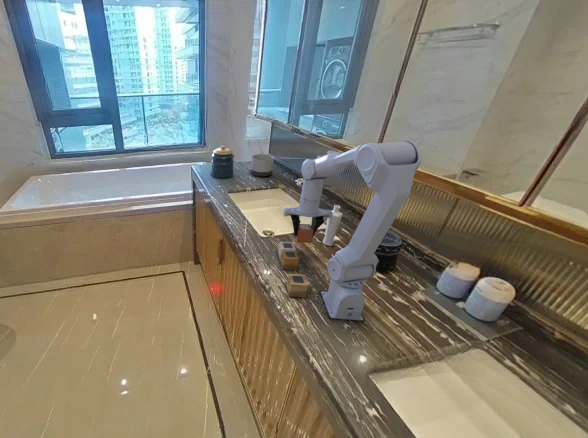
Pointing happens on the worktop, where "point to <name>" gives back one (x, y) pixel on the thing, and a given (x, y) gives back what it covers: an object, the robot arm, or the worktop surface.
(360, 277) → the robot arm
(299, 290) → the maple block
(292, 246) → the cream block
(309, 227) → the terracotta block
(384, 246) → the container
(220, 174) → the canister
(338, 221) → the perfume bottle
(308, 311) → the worktop surface
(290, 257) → the beech block
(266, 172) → the planter
